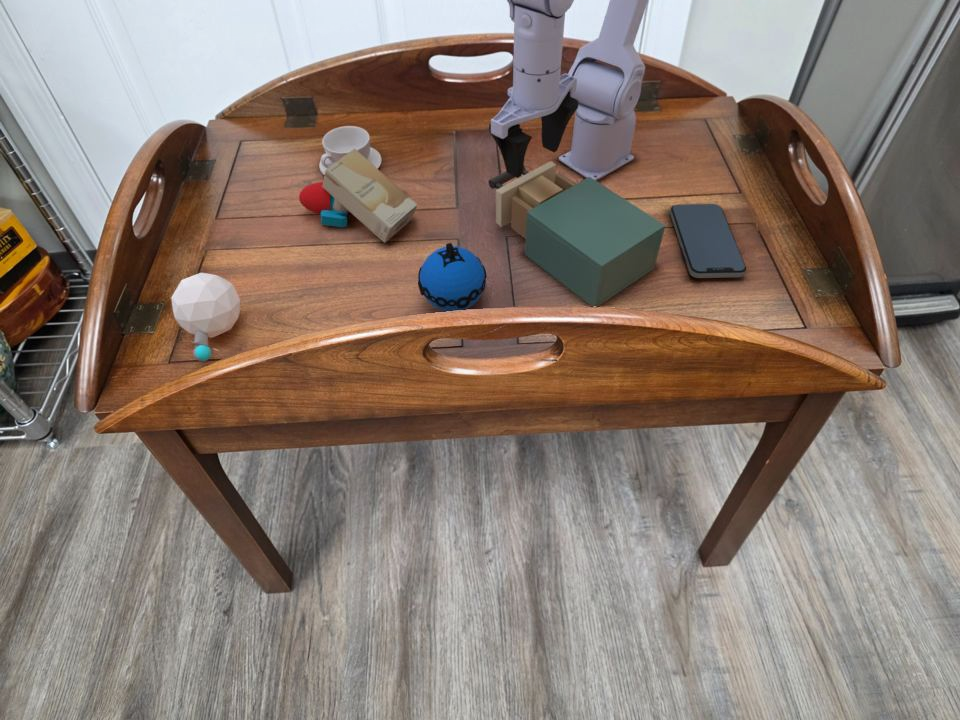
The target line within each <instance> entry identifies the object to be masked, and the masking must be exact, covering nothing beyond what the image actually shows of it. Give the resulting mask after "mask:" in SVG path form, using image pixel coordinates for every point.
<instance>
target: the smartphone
mask: <svg viewBox="0 0 960 720" xmlns="http://www.w3.org/2000/svg"><path fill="white" fill-rule="evenodd" d="M669 216H670V218H671V221H672V224H673V228H674V231H675V233H676V236H677V240H678V243H679V245H680V248H681V252H682V255H683V259H684V261H685V264H686V267H687V270H688V273H689V275H690V276H691V277H693V278H695V279H713V278H714V279H716V278H719V279H721V278H722V279H723V278H725V279H726V278H741V277H744V276H745V274H746V271H747V266H746V264H745V261H744V259H743V256H742V254H741V252H740V249H739V246H738V245H737V242H736V240H735V237H734V235H733V233H732V229H731V228H730V225H729V222H728V220H727V217H726V216H725V213H724V210H723V208H722V207H721V206H720V205H719V204H716V203H691V204H690V203H687V204H674V205H671V207H670V210H669Z"/></svg>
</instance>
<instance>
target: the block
mask: <svg viewBox="0 0 960 720" xmlns="http://www.w3.org/2000/svg"><path fill="white" fill-rule="evenodd" d="M561 192H563V189H562V188H560V187H559V186H557V185H556V184H554V183H553V182H551V181H550V180H548V179H547V178H545V177H544V176H542V175H541V176H539V177H537V178H535V179H533V180H531V181H529V182H528V183H526V184H524V185H522V186H520V187H518V198H520V199H521V200H523V201H524V202H525V203H527V204H528V205H529V206H531V207H532V208H534V207H536V206H538V205H540V204H542V203H543V202H545V201H547V200H549V199H550V198H552V197H554V196H556V195H558V194H559V193H561Z"/></svg>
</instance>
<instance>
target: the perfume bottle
mask: <svg viewBox="0 0 960 720" xmlns="http://www.w3.org/2000/svg"><path fill="white" fill-rule="evenodd" d="M170 299H171V306H172V307H171V308H172V312H173V313H172V314H173V318H174V320H175V321H176V322H177V324H178V325H179V327H180V328H182V329H183V330H184V331H186V332H187V333H188V334H191V335H194V340H193V341H192V340H188V343H190V344H192V345H194V349H193V350H192V355H193V357H194V358H195V359H196V360H197V361H199V362H207V361H208V360H209V359H210V358H211V356H212V352H214V351H218V352H220V350H219V349H217V348H212V347H210V346H209V338H211V339H212V338H215V337H217V336H219V335H221V334H224V333H226V332H228V331H231V330H232V328H233V327H234V325H235V324H236V322H237V321H238V319H239V317H240V314H241V299H240V297H239V295H238V292H237V289H236V288H235V287H234V284H233V283H232V282H230V281H229V280H227V279H225V278H224V277H222V276H219V275H217V274H212V273H208V272H207V273H206V272H199V273H197V274H196V273H195V274H193V275H191V276H187V277H185V278H184V279H181V280H180V282H179V283H178V285H177V286H176V289H175V290H174V292H173V293H172V296H171V298H170Z"/></svg>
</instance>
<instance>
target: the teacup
mask: <svg viewBox="0 0 960 720" xmlns="http://www.w3.org/2000/svg"><path fill="white" fill-rule="evenodd" d="M321 144H322V147H323V149H324V152H325V153H323V154H322V155H321V156H320V161H319V164H318V165H319V170H320V173H321V174H322V175H324V176H325V172H326V169H327V168H329V167H330V166H331V165H333V164H334V163H335V162H337V161H338V160H339V159H341V158H342V157H343V156H345V155H346V154H348V153H349V152H350V151H352V150H353V149H354V148H355V149H356V150H357V151H358V152H359V153H360V154H361V155H363V156H364V157H365V158H366V159H367V160H368V161H369V162H370V163H371V164H373V165H374V166H375V167H376V168H377V169H378V170H379V168H380V166H381V164H382V155H381V154H380V152H379V151H378V150H377V149H375V148H374V147H372V146H371V137H370V134H369V132H368V130H366V129H364V128H362V127H360V126H355V125H344V126H339V127H338V126H337V127H336V128H333V129H331V130H329V131H328V132H327V133H325V134H324V135H323V137H322V139H321Z"/></svg>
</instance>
